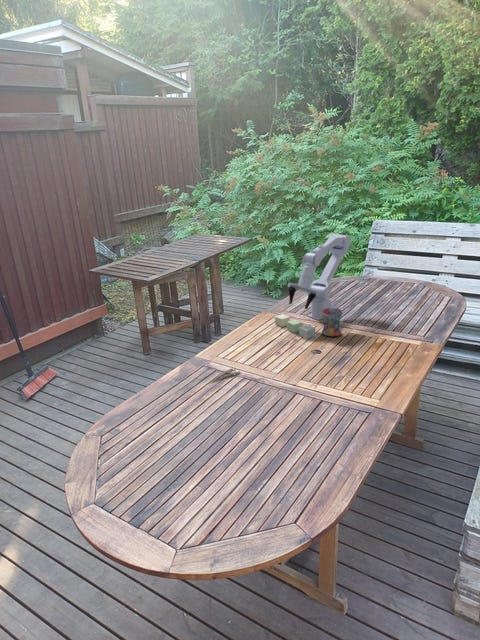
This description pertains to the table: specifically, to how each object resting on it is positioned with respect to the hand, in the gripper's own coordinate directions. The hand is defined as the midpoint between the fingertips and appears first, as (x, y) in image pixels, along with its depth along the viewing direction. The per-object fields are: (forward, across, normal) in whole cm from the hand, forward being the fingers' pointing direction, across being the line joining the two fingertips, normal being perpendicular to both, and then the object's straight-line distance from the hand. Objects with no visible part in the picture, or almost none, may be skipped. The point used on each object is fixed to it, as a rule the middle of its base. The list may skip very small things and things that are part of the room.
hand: (298, 306), depth 208 cm
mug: (+8, +18, -6) cm, 20 cm away
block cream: (+9, -3, +10) cm, 14 cm away
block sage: (+11, +2, +2) cm, 11 cm away
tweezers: (+39, -28, -34) cm, 59 cm away
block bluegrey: (+12, +6, -6) cm, 15 cm away
